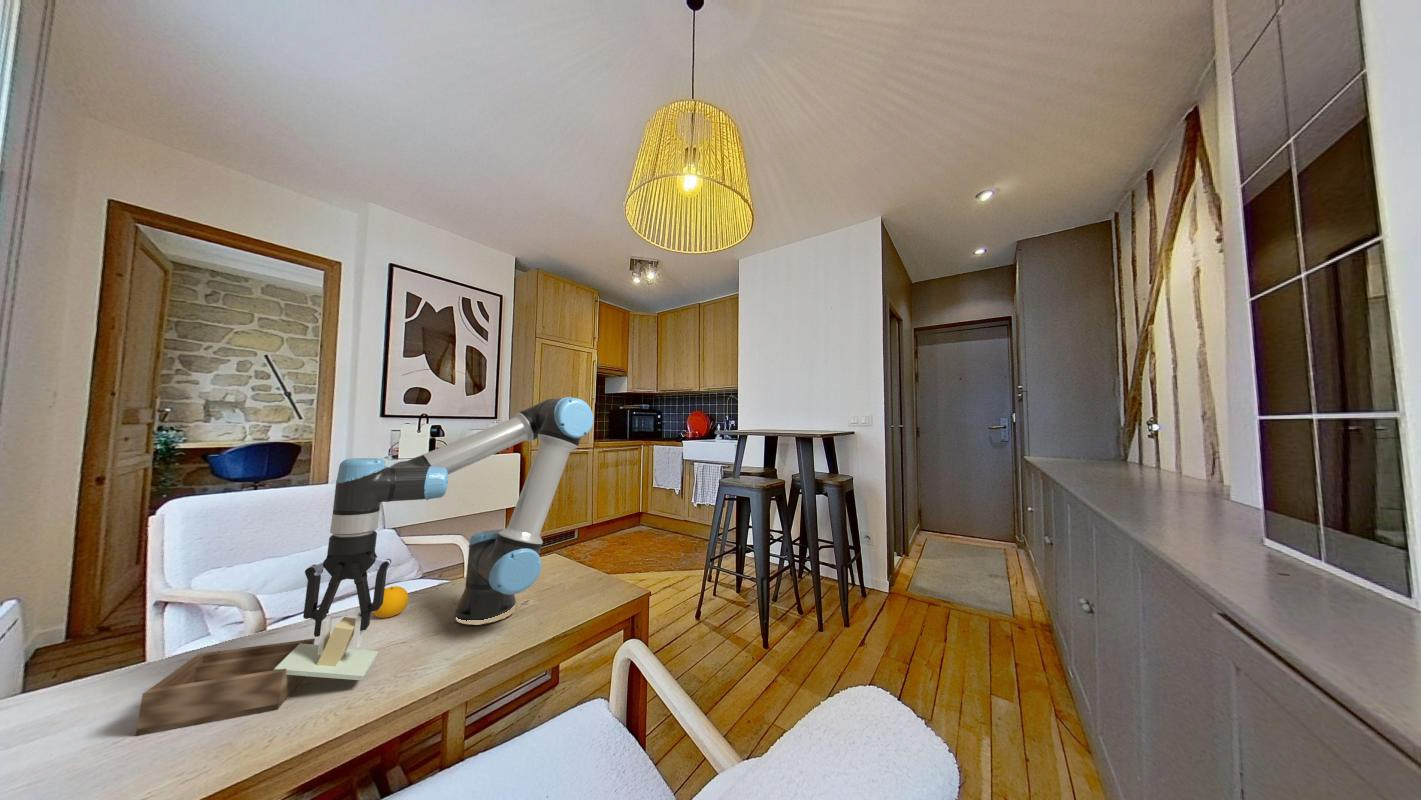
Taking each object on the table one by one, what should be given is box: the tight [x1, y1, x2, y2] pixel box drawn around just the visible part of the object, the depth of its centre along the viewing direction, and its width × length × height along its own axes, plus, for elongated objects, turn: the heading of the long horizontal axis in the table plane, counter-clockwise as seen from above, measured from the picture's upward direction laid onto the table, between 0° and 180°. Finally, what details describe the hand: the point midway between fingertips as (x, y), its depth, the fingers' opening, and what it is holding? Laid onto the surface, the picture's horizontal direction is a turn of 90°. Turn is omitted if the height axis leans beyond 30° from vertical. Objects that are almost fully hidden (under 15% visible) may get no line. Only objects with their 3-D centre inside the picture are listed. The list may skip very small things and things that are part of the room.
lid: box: [274, 616, 380, 681], centre depth 81 cm, size 14×10×8 cm
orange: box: [371, 585, 410, 619], centre depth 111 cm, size 8×8×8 cm
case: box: [134, 637, 316, 737], centre depth 75 cm, size 17×13×6 cm
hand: (340, 648), depth 82 cm, fingers closed on lid, 5 cm apart
